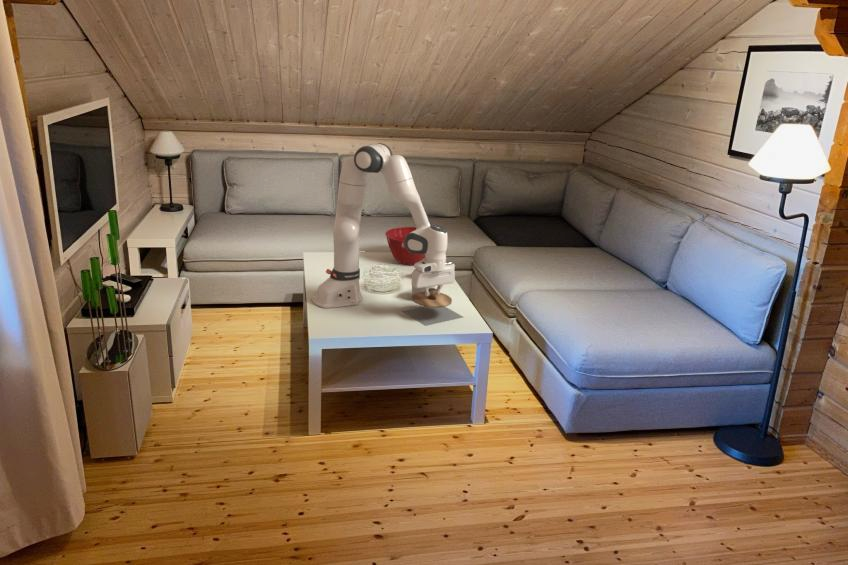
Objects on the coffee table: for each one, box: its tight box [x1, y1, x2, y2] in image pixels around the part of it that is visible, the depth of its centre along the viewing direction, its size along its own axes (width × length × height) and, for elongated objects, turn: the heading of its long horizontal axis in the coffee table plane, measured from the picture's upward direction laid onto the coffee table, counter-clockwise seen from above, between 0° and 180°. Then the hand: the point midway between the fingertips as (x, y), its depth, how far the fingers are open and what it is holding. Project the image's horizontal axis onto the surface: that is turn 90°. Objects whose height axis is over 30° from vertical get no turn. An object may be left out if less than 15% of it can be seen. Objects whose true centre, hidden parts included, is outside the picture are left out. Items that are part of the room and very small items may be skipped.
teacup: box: [411, 285, 436, 296], centre depth 305 cm, size 14×11×8 cm
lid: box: [411, 287, 453, 308], centre depth 284 cm, size 17×17×5 cm
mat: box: [402, 306, 464, 327], centre depth 288 cm, size 20×18×1 cm
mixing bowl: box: [385, 226, 425, 266], centre depth 355 cm, size 28×28×16 cm
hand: (432, 295), depth 284 cm, fingers closed on lid, 3 cm apart
